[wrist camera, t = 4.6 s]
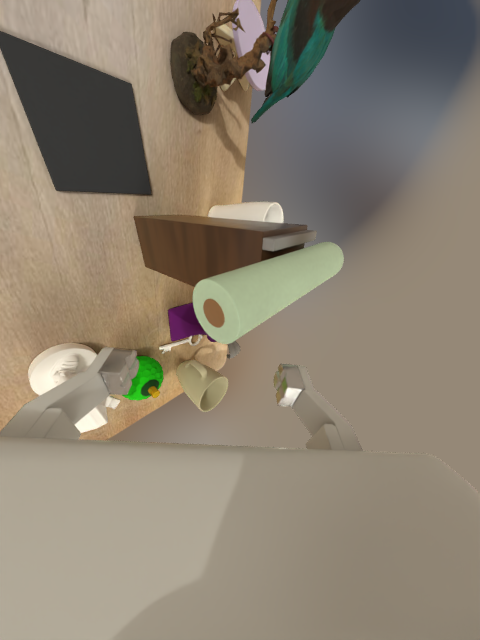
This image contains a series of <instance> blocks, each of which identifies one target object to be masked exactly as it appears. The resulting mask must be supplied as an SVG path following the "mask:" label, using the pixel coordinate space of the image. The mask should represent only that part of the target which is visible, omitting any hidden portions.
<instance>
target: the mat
mask: <svg viewBox="0 0 480 640" xmlns="http://www.w3.org/2000/svg"><path fill="white" fill-rule="evenodd" d="M0 49H1V51H2V54H3V56H4V59H5V61H6V64H7V66H8V69H9V72H10V74H11V77H12V79H13V82H14V84H15V87H16V89H17V92H18V95H19V97H20V100H21V102H22V105H23V107H24V110H25V112H26V115H27V118H28V120H29V123H30V125H31V128H32V130H33V133H34V135H35V138H36V141H37V143H38V146H39V148H40V151H41V153H42V156H43V158H44V161H45V164H46V166H47V169H48V171H49V174H50V176H51V179H52V181H53V184H54V187H55V189H56V190H57V191H80V192H103V193H125V194H148V195H151V189H150V183H149V178H148V172H147V167H146V161H145V156H144V150H143V145H142V139H141V134H140V128H139V123H138V117H137V112H136V106H135V101H134V95H133V90H132V84H130V83H128V82H125V81H123V80H120V79H118V78H115V77H113V76H110V75H108V74H106V73H103V72H101V71H98V70H96V69H93V68H91V67H88V66H86V65H83V64H81V63H78V62H76V61H73V60H71V59H68V58H66V57H63V56H61V55H58V54H56V53H54V52H51V51H49V50H46V49H44V48H41V47H39V46H36V45H34V44H31V43H29V42H26V41H24V40H21V39H19V38H16V37H14V36H11V35H9V34H6V33H4V32H1V31H0Z"/></svg>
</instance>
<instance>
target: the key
mask: <svg viewBox="0 0 480 640" xmlns="http://www.w3.org/2000/svg"><path fill="white" fill-rule="evenodd" d="M192 337H193V336H190V337H189V339H185V340H182V341H178V342H174V343H171V344H167V345H163V346H160V347H159V349H160V350H163V352H162V354H163V353H165V351H166V352H168V350H169V351H171V347H173V346H176V345H180V344H184V343H187V342H189V344H190V345H191V346H196V345H197V344H198V343H199V342H200V340H201V338H203V336H202V335H199V337H198V340H197V341H196V342H195V343H191V339H192Z"/></svg>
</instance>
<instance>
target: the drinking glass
mask: <svg viewBox="0 0 480 640" xmlns="http://www.w3.org/2000/svg"><path fill="white" fill-rule="evenodd" d="M208 217H214V218H226V219H238V220H250V221H262V222H274V223H283V211H282V208H281V206H280V205H279V204H278V203H276V202H263V201H261V202H260V201H258V202H246V203H237V204H228V205H215V206H213V207H212V208H211V209H210V210H209V213H208Z"/></svg>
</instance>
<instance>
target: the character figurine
mask: <svg viewBox="0 0 480 640" xmlns="http://www.w3.org/2000/svg"><path fill="white" fill-rule="evenodd" d="M96 357H97V354H96V353H95V351H94V350H93V349H91V348H90V347H88V346H86V345H83V344H79V343H65V344H59V345H56V346H53V347H51V348H49V349H47V350H45V351H43V352H42V353H40V354H39V355H38V356H37V357H36V358H35V359H34V360H33V361H32V363H31V364H30V367H29V369H28V377H29V381H30V385H31V387H32V389H33V390H34V392H35V393H37V394H38V395H39V396H40V395H42V394H44V393H46V392H47V391H49V390H51V389H53V388H54V387H56V386H58V385H60V384H62V383H63V382H65V381H67V380H69V379H70V378H72V377H74V376H76V375H77V374H79V373H81V372H86V370H87V369H88V368H89V366H90V365H91V363H92V362H93V361H94V359H95V358H96ZM119 402H120V400H119V399H116V398H114V397H112V396H110V395H109V396H108V397H107V398H106V399H105V400H103V401H102V402H101V403H100V404H99V405H97V406H96V407H95V408H94V409H93V410H91V411H90V412H89V413H88V414H87V415H86V416H84V417H83V418H82V419H81V420H80V421H78V422H77V423H76V424H75V426H76V427H77V429H78V430H79V431H80V433H83V432H86V431H89V430H93V429H96V428H99V427H100V426H102V425H104V424H106V423H107V422H108V418H107V411H106V407H110V408H113V409H115V408H116V407H117V405H118V404H119Z"/></svg>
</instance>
